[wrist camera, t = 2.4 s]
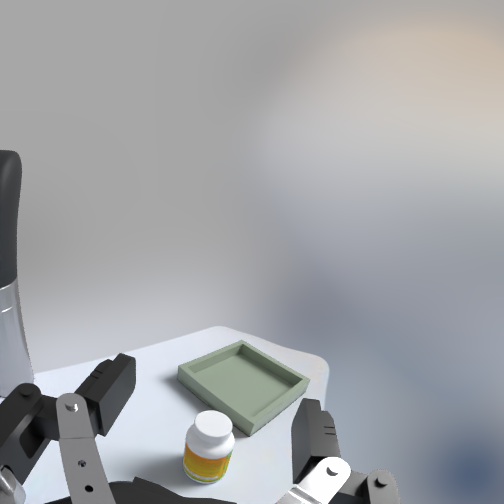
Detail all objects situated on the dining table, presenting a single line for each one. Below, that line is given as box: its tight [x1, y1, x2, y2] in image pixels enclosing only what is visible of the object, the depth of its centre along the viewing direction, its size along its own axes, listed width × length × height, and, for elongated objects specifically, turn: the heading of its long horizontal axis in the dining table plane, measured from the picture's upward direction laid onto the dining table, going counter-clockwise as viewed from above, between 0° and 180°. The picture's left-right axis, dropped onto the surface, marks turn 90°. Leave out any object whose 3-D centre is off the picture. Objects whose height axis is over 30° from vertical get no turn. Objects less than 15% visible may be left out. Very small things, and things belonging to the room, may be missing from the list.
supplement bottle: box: [183, 410, 235, 484], centre depth 28 cm, size 5×5×10 cm
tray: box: [177, 340, 310, 437], centre depth 47 cm, size 16×16×3 cm
